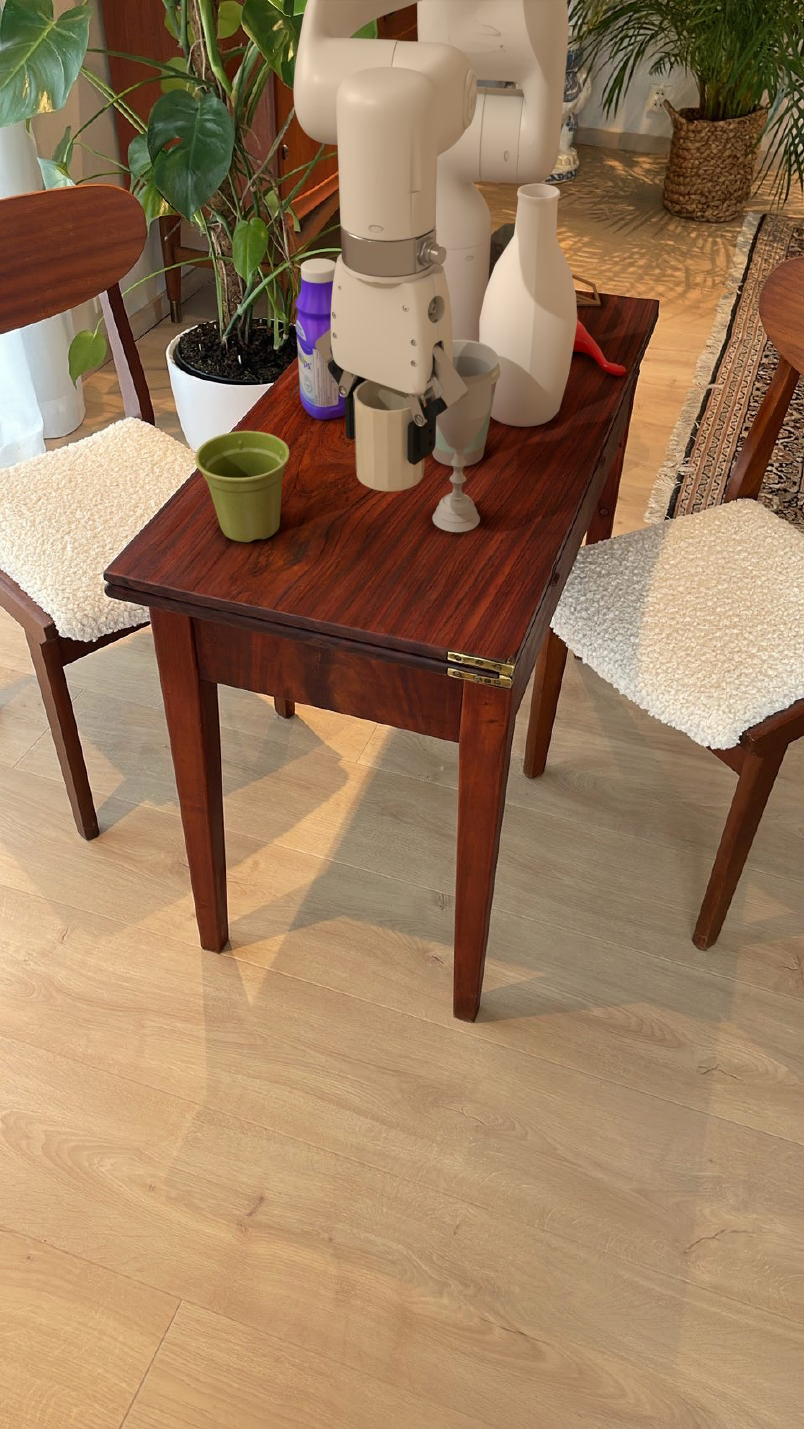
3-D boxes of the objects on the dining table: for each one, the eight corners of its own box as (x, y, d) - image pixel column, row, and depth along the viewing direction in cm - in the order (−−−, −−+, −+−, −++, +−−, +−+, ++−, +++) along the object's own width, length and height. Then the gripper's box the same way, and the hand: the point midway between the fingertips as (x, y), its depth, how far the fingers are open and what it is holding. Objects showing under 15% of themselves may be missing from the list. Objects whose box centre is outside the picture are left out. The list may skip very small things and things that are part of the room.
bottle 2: (584, 404, 140) (611, 186, 123) (536, 442, 134) (556, 218, 116) (507, 378, 145) (522, 165, 128) (457, 414, 139) (465, 194, 121)
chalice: (482, 541, 119) (492, 380, 107) (418, 534, 120) (420, 373, 108) (492, 503, 125) (503, 345, 112) (430, 496, 126) (434, 338, 113)
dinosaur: (508, 296, 151) (513, 342, 142) (619, 313, 152) (631, 360, 144) (501, 324, 154) (506, 371, 145) (611, 341, 155) (622, 388, 146)
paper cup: (383, 447, 110) (382, 369, 104) (436, 469, 107) (438, 390, 101) (342, 476, 106) (339, 397, 100) (396, 499, 103) (396, 419, 98)
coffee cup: (443, 427, 136) (446, 330, 128) (508, 447, 133) (515, 349, 125) (406, 460, 131) (406, 361, 123) (472, 481, 128) (478, 381, 120)
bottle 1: (294, 399, 141) (284, 256, 129) (338, 391, 143) (333, 249, 131) (312, 427, 136) (304, 281, 124) (357, 418, 138) (354, 274, 126)
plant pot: (187, 540, 119) (176, 466, 114) (233, 494, 126) (225, 422, 120) (267, 562, 117) (260, 487, 111) (310, 514, 123) (305, 441, 117)
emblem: (511, 290, 164) (511, 285, 164) (557, 270, 170) (557, 266, 169) (577, 317, 158) (577, 312, 158) (622, 295, 163) (623, 290, 163)
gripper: (505, 257, 90) (492, 458, 103) (333, 207, 98) (340, 400, 110) (450, 291, 86) (444, 496, 99) (274, 235, 93) (289, 433, 106)
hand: (389, 443), depth 104 cm, fingers closed on paper cup, 6 cm apart
